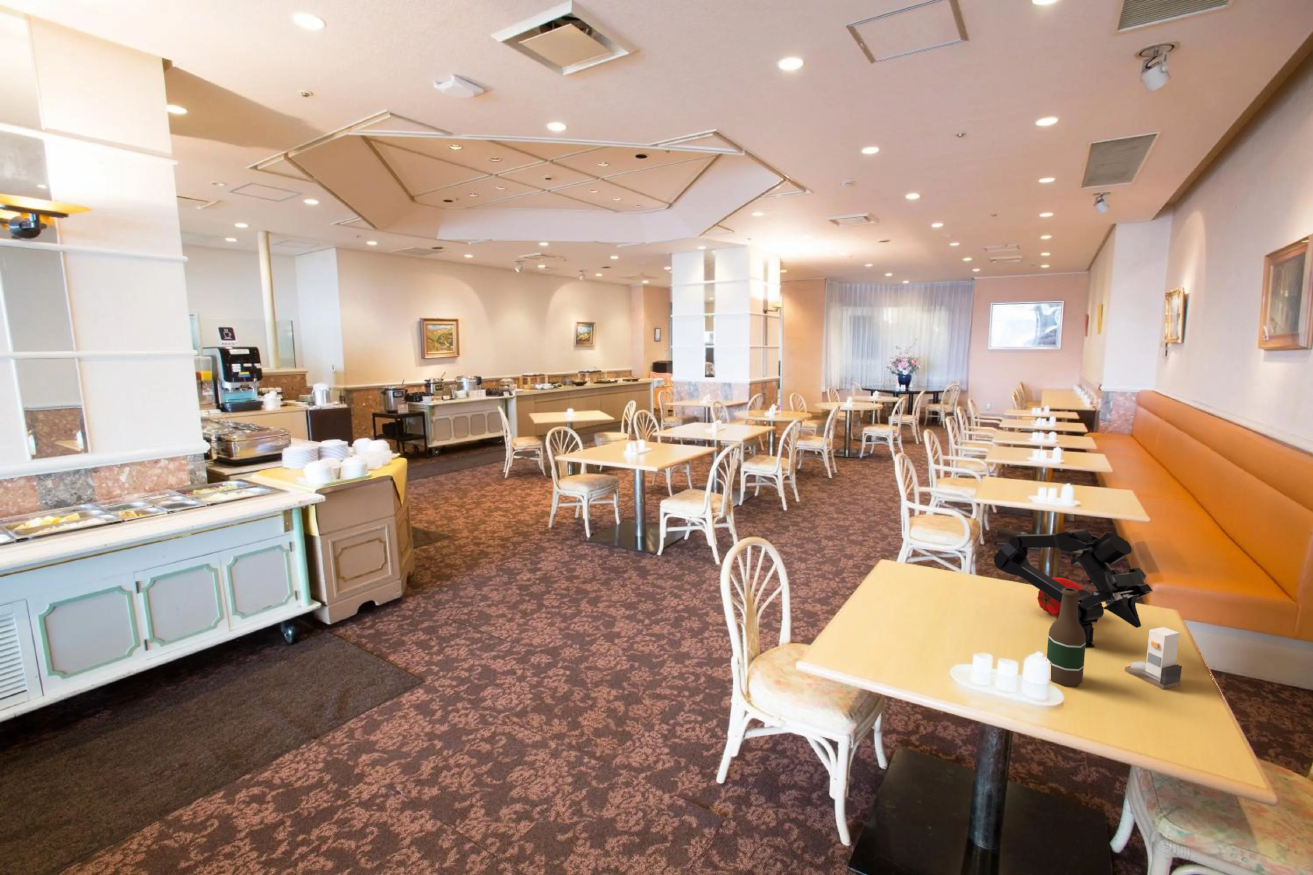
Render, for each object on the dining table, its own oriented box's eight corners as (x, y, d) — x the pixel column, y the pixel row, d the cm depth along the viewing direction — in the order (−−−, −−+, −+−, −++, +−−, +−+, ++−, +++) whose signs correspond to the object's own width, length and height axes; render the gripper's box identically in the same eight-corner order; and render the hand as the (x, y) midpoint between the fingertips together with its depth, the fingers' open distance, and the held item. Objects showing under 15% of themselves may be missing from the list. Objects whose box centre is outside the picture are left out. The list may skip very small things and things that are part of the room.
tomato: (1073, 618, 193) (1037, 624, 191) (1057, 579, 198) (1021, 584, 196) (1105, 612, 182) (1067, 617, 179) (1086, 570, 187) (1049, 575, 184)
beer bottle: (1083, 691, 148) (1091, 598, 145) (1045, 682, 152) (1052, 592, 149) (1081, 676, 155) (1088, 587, 151) (1045, 668, 159) (1051, 581, 155)
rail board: (1124, 670, 157) (1126, 652, 156) (1141, 666, 158) (1143, 648, 158) (1163, 689, 148) (1165, 670, 147) (1180, 684, 150) (1182, 666, 149)
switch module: (1143, 671, 152) (1147, 630, 150) (1159, 667, 154) (1163, 626, 152) (1158, 678, 149) (1163, 636, 147) (1174, 674, 150) (1179, 632, 149)
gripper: (1095, 562, 155) (1137, 620, 146) (1147, 553, 161) (1191, 608, 152) (1065, 581, 164) (1103, 637, 155) (1115, 572, 169) (1154, 625, 160)
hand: (1138, 626), depth 155 cm, fingers closed
